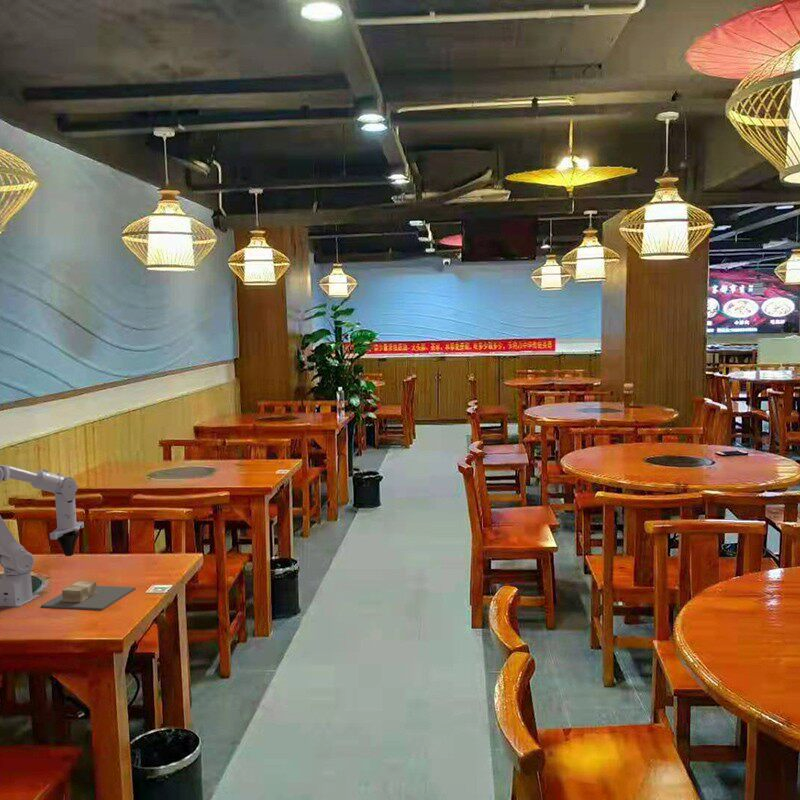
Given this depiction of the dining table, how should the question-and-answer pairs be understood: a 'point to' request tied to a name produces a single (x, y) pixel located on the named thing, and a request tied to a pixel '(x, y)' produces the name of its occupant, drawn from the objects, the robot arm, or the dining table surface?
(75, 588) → the light wood block
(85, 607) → the mat
